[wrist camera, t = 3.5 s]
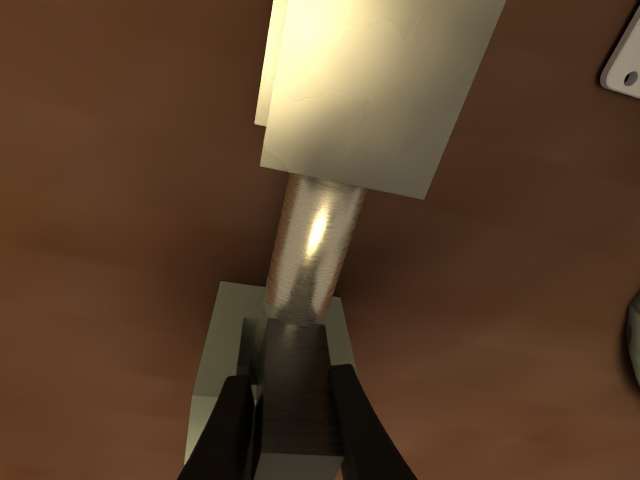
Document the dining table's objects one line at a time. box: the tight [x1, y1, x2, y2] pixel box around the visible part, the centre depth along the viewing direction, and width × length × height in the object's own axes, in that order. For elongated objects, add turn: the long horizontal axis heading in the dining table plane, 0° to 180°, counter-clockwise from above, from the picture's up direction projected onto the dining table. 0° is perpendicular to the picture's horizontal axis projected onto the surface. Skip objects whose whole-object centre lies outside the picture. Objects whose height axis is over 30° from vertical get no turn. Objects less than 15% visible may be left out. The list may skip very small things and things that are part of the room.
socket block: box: [184, 281, 359, 465], centre depth 16 cm, size 6×4×6 cm, turn 76°
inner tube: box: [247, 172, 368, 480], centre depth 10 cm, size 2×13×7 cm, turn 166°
